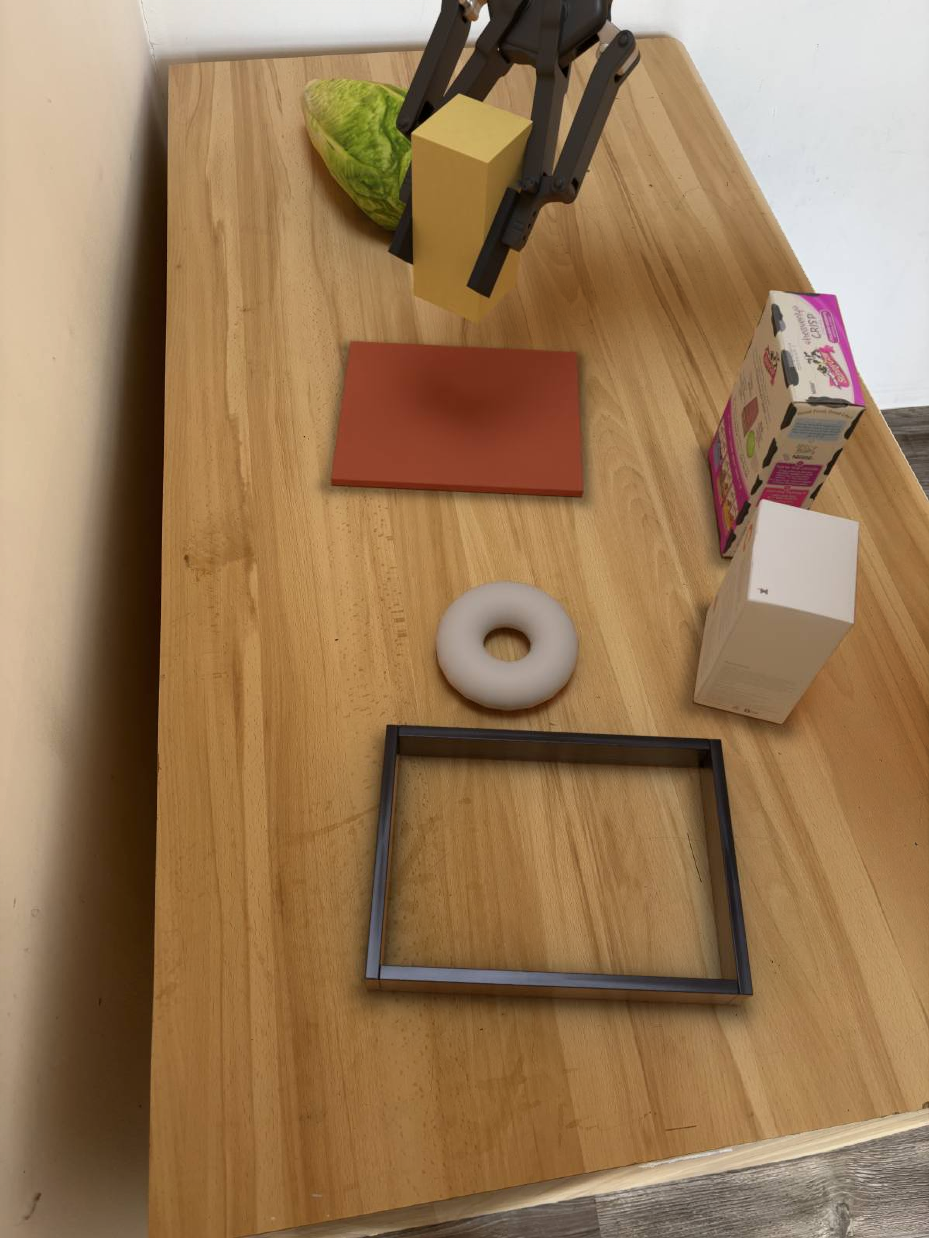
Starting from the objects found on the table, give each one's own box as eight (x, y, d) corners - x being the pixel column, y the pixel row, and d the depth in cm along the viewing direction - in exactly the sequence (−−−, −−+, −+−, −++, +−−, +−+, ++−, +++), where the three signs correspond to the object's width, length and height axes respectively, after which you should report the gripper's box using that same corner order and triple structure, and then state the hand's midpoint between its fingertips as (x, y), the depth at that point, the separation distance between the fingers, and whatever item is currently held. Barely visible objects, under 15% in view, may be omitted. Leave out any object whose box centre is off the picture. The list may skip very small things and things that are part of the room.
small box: (782, 726, 64) (856, 626, 53) (691, 703, 65) (745, 599, 54) (792, 631, 68) (862, 519, 57) (706, 610, 69) (758, 496, 58)
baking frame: (709, 757, 63) (721, 738, 60) (738, 1005, 54) (753, 995, 52) (387, 743, 62) (386, 723, 60) (367, 989, 54) (364, 978, 51)
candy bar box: (785, 563, 72) (871, 407, 58) (720, 559, 72) (791, 403, 58) (765, 454, 78) (839, 290, 64) (705, 451, 78) (766, 286, 64)
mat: (575, 358, 83) (576, 351, 82) (582, 497, 74) (583, 490, 74) (351, 347, 83) (350, 340, 82) (331, 485, 74) (330, 478, 74)
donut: (434, 719, 64) (581, 719, 64) (434, 695, 61) (587, 696, 61) (436, 597, 69) (571, 597, 69) (435, 570, 66) (576, 571, 66)
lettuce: (378, 55, 100) (284, 1, 91) (515, 153, 88) (423, 102, 79) (332, 163, 106) (238, 123, 96) (455, 269, 94) (362, 235, 85)
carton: (517, 282, 68) (533, 121, 58) (478, 324, 66) (487, 163, 56) (453, 255, 70) (458, 93, 60) (413, 295, 67) (410, 132, 57)
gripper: (732, -21, 58) (572, 336, 64) (478, -100, 63) (352, 240, 69) (721, -92, 51) (543, 317, 57) (436, -174, 56) (300, 211, 62)
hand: (439, 274), depth 63 cm, fingers closed on carton, 5 cm apart
